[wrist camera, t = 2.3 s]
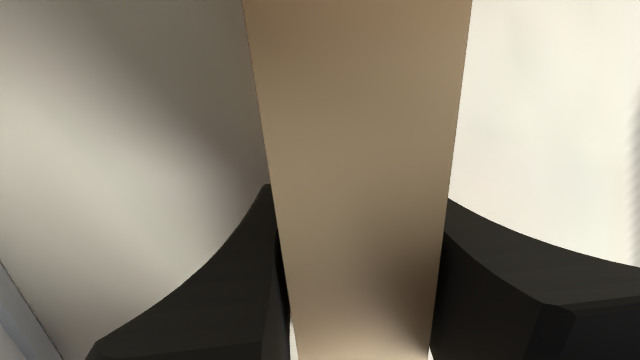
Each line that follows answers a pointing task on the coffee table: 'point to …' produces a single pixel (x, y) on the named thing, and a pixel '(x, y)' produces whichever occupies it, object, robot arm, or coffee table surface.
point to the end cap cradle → (20, 327)
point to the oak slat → (359, 162)
